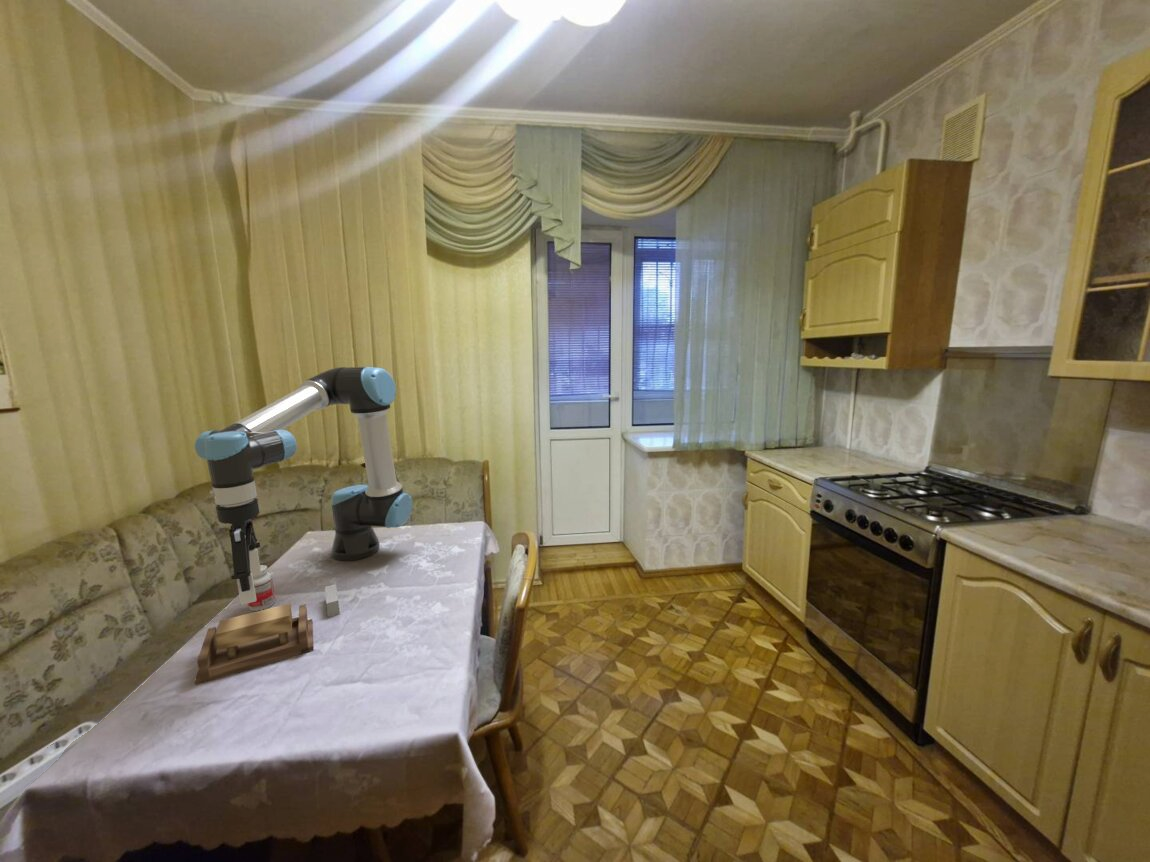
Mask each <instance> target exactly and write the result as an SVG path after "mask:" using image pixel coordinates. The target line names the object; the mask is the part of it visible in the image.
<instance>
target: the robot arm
mask: <svg viewBox="0 0 1150 862" xmlns="http://www.w3.org/2000/svg"><path fill="white" fill-rule="evenodd" d="M396 394H397V388H396V383H395V380H394V378H393V377H392V375H391V374H390V372H388V371H387V370H386V369H384V368H381V367H374V366H373V367H372V366H354V367H353V366H351V367H350V366H349V367H345V366H339V367H334V368H331V369H327V370H325V371H323V372H320V373H319V374H316V375H314V376H311V377H310V378H308V379H306V380H304V381H302V383H300V385H299V387H298V388H297V389H295V390H294V391H292V392H290V393H288V394H285V395H284V396H283V397H281V398H279V399H277V400H274V401H273V402H271V403H269V404H267V405H266V406H264V407H261V408H260V409H259V410H257V411H254V412H253V413H250V414H249V415H247V416H245V417H244V418H242V419H240V420H237V421H235V422H234V423H232V424H230V425H229V426H227V427H225V428H223V429H220V430H217V429H214V430H206V431H204V432H202V433H201V434H199V435H198V436H197V438H196V439H195V442H194V451H195V452H196V454H197V456H198V457H199V458H201V459H202V460H205V461H206V462H207V467H208V468H207V469H208V472H209V478H210V481H211V482H210V483H211V488H212V489H211V490H210V491H209V494H210V495H213V496H214V503H215V504H216V507H215V509H216V515H217V516H216V517H217V521H218V522H219V523H221V524H224V525H225V524H230V529H229V532H228V533H229V537H230V538H229V539H230V545H231V553H232V554H231V556H232V565H233V567H232V568H233V575H231V577H230V578H231V580H236V584H237V589H238V595H239V601H240V606H243V605H247V604H248V603H251V602H255V601H256V594H255V588H254V582H253V577H252V576H256V575H261V568H260V565H261V563H260V557H259V551H258V548H261V543H260V542H258V539H257V536H256V533H255V528H254V524H253V520H252V519H254V518H256V517H258V516H259V514H260V508H259V507H260V506H259V502H258V501H259V500H258V499H257V498H256V497H257V496H258V492H257V487H256V481H255V477H254V470H256V469H260V468H264V467H266V466H269V465H274V464H276V463H281V462H283V461H285V460H287V459H290V458H292V457H294V455H295V454H296V452H297V449H298V445H297V444H298V443H297V440H296V438H295V436H294V434H292V433H291V432H290V431H289V430H287V429H286V428H288V427H290V426H291V425H293V424H295V423H297V421H300V420H301V419H302V418H304V417H306V416H308V415H310V413H313V412H314V411H315V410H317V411H318V410H319V411H320V410H324V409H325V408H327V407H329V406H334V405H349V409H350V413H351V414H353V415H354V416H355V417H356V420H357V424H358V430H359V437H360V442H361V447H362V451H363V452H362V453H363V459H364V463H365V471H366V475H367V483H368V485H367V484H355V485H350V486H347V487H343V488H340V489H338V490H336V491H334V493H332V495H331V509H332V514H333V524H334V530H335V531H334V532H335V534H334V539H333V543H332V547H331V556H332V558H333V559H334V560H336V561H342V562H345V561H346V562H347V561H348V562H349V561H355V560H356V561H357V560H361V559H364V558H367V557H370V556H372V555H374V554H375V553H377V552H378V551H379V549H380V540H379V538H378V536H377V534H376V532H375V529H374V527H379V528H380V527H382V528H387V529H391V528H396V529H397V528H400V527H402V526H403V525H404V524H406V523H407V521H408V520H409V518H410V516H411V513H412V509H413V499H412V496H411V494H409V493H406V492H404V490H403V489H404V488H403V484H402V483H400V482H399V481H397V475H396V468H395V462H394V455H393V450H392V443H391V437H390V436H391V435H390V429H389V423H388V416H387V413H388V412H389V410H390V409H391V404H392V403H393V402H394V401H395V399H396Z"/></svg>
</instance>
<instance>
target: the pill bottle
mask: <svg viewBox="0 0 1150 862" xmlns="http://www.w3.org/2000/svg"><path fill="white" fill-rule="evenodd" d="M260 568H261V575H256V576H252V577H253V582H254V588H255V594H256V601H255V602H251V603H247V604H248V609H249V610H250V611H252V612H257V611H259V610H260V611H261V610H263V609H264V610H265V609H269V608H271V607H272V606H273V605H274V604H275V603H276V595H275V590H274V583H273V576H272V574H271V572H269V571H268V566H267V565H265V564H264V565H263V564H260Z"/></svg>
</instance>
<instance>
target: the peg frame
mask: <svg viewBox="0 0 1150 862" xmlns="http://www.w3.org/2000/svg"><path fill="white" fill-rule="evenodd" d="M313 624H314V621H313V618H311V619H309V618H308V611H307V605H306V604H302V605H301V604H300V605H299V606H298V616H297V617H292V631H289V632H285V633H281V634H277V635H274V636H270V637H266V638H263V639H259V640H255V641H252V642H248V643H244V644H241V645H237V646H233V647H230V648H226V649H222V650H219V651H218V646H217V640H216V635H215V634H216V631H217V626H214V627H210V628H207V631H206V635H205V636H204V640H203V643H202V647H200V648H201V649H200V652H199V655H198V658H197V660H196V661H197V666H198V670H197V673H196V676H195V679H194V684H195V686H197V685H201V684H205V683H207V682H211V681H215V680H218V679H220V678H224V677H227V676H230V675H235V674H238V673H241V672H245V671H248V670H251V669H255V668H257V667H261V666H265V665H268V664H272V663H275V662H279V661H282V660H285V659H288V658H292V657H296V656H298V655H301V654H305V653H308V652H312V651H314V626H313ZM200 683H201V684H200Z"/></svg>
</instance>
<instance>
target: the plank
mask: <svg viewBox="0 0 1150 862" xmlns="http://www.w3.org/2000/svg"><path fill="white" fill-rule="evenodd" d="M292 613H293V612H292V607H291V603H287V604H286V603H285V604H282V605H277V606H275V607H269V608H267V609H264V610H260V611H252V612H250V613H245V614H242V615H237V616H233V617H229V618H225V619H222V620H219V622H218V626H217V627H216V629H217V631H216V634H215V635H216V640H217V646H218V651H219V650H222V649H226V648H230V647H233V646H237V645H241V644H244V643H248V642H252V641H255V640H259V639H263V638H266V637H270V636H274V635H277V634H281V633H285V632H289V631H292V619H293V614H292Z"/></svg>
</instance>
